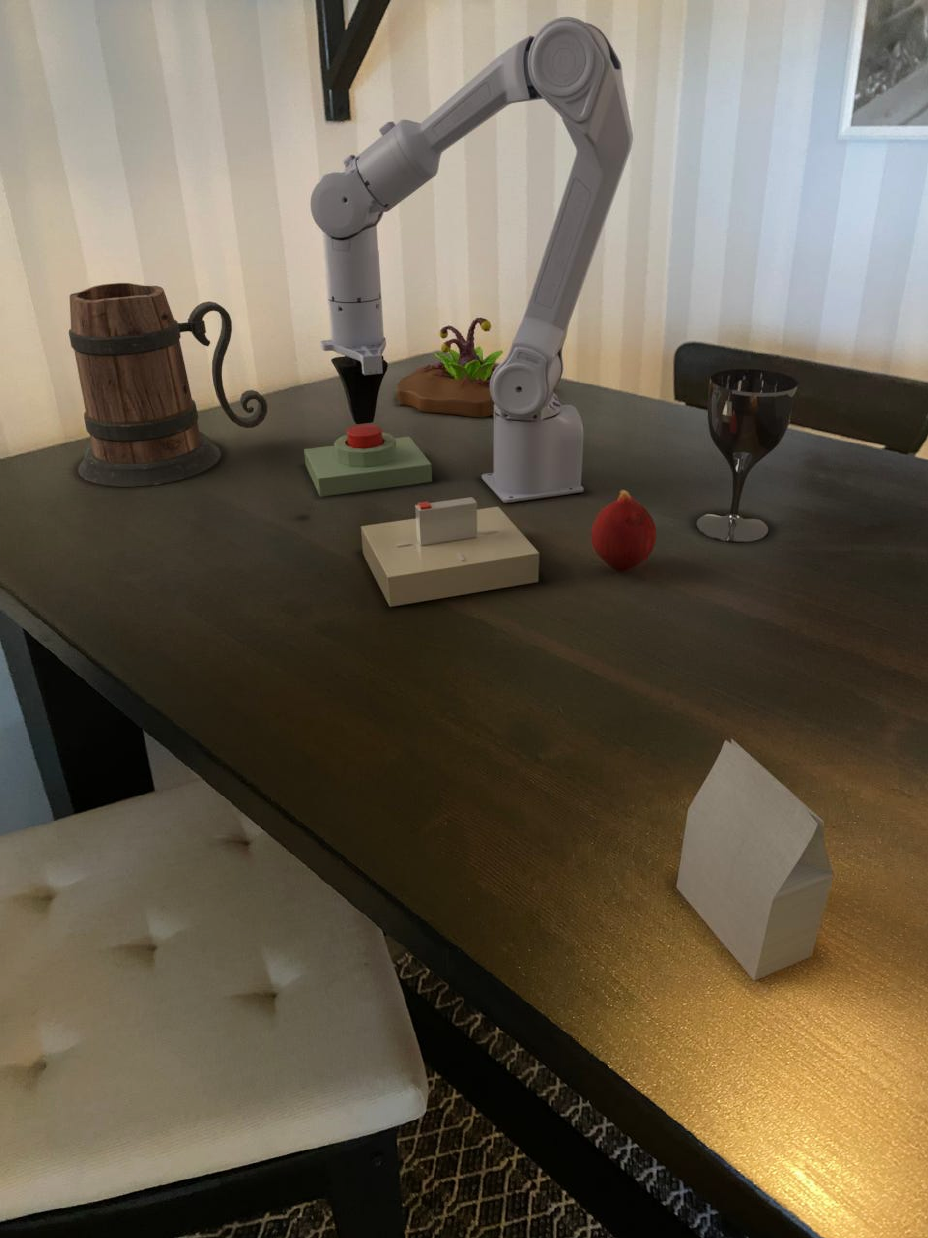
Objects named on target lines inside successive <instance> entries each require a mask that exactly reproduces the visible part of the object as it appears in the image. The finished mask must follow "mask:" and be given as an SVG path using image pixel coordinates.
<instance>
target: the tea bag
mask: <svg viewBox="0 0 928 1238" xmlns="http://www.w3.org/2000/svg"><path fill="white" fill-rule="evenodd" d="M723 742H724V743H723V744H722V747H721V750H720V753H719V754H718V757H717V758H716V760H715V762H714V764H713V766H712V767H711V769H710V772H709V773H708V774H707V776H706V778H705V780H704V782H703V783H702V785H701V786H700V788H699V789H698V791H697V793H696V795H695V797H694V798H693V800H692V802H691V803H690V805H689V807H688V808H687V814H686V822H685V827H684V834H683V842H682V846H681V847H682V848H681V854H680V861H679V866H678V873H677V874H678V875H677V880H676V889H677V890H678V892H680V894H681V895H682V897H684V899H685V900H686V901H687V902H688V903H689V905H690V906H691V907H692V908H693V909H694V911H695V912H696V913H697V914H698V915H699V917H700V918H701V919H702V920H703V922H704V923H705V924H706V925H707V926H708V928H709V929H710V930H711V931H712V933H714V935H715V936H716V937H717V938H718V939H719V940H720V942H721V943H722V944H723V945H724V947H725V948H726V949H727V950H728V952H730V954H731V955H732V957H734V958H735V960H736V961H737V963H738V964H740V966H741V967H742V968H743V969H744V971H745V972H746V973H747V975H749V977H750V978H751V980H752V981H753V982H755V981H758V980H760V979H762V978H765V977H766V976H769V975H771V974H773V973H776V972H778V971H781V970H783V969H785V968H787V967H791V966H792V965H795V964H797V963H799V962H802V961H804V960H807V959H809V958H811V957H813V953H814V949H815V946H816V941H817V938H818V935H819V931H820V927H821V924H822V921H823V918H824V917H823V916H824V913H825V909H826V906H827V902H828V898H829V895H830V890H831V887H832V884H833V880H834V876H835V874H834V871H833V868H832V867H833V866H832V864H831V860H830V857H829V854H828V849H827V847H826V840H825V834H824V831H825V829H824V828H825V821H824V820H823V819H822V818H820V817H819V816H818V815H817V814H816V813H815V812H814V811H813V810H812V809H810V808H809V807H808V806H807V805H806V804H805V803H804V802H802V800H801V799H799V798H798V797H797V796H796V795H795V794H793V792H792V791H791V790H789V789H788V788H787V787H786V786H785V785H784V784H782V782H780V781H779V780H778V779H777V778H776V777H775V776H774V775H773V774H772V773H770V772H769V771H768V770H767V769H766V768H765V767H764V766H763V765H762V764H760V763H759V762H758V761H757V760H756V759H755V758H754V757H753V756H751V754H750V753H748V752H747V751H746V750H745V749H744V748H743V747H742V746H741V745H739V744H738V743H737V742H736V741H735V740H734V739H733V738H730V742H729V740H727V739H725V740H724V741H723Z"/></svg>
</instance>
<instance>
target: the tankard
mask: <svg viewBox="0 0 928 1238" xmlns="http://www.w3.org/2000/svg"><path fill="white" fill-rule="evenodd" d="M210 312H218V314H219V315H220V320H221V327H220V328H221V329H220V334H219V338H218V340H217V343H216V345H215V348H214V351H213V354H212V355H213V356H212V361H211V376H212V384H213V388H214V391H215V395H216V398H217V400H218V402H219V405H220V406H221V408H222V410H223V411H224V413H225V414H226V415H227V417H228V418H229V419H230V420H231V422H233V423H234V424H236V425H237V426H238V427H241V428H245V429H253V428H256V427H258V426H259V425H261V424H262V422H263V421H265V418H266V416H267V414H268V403H267V400H266V398H265V397H264V396H263V395H261V393H260V392H258V391H257V390H253V389H249V390H245V391H243V392H242V393H241V395H240V399H239V400H240V401H239V402H240V405H241V408H242V409H243V410H244V411H245V412H246V413H247V414H252V413H253V412H254V410H255V408H254V407H253V406H250V407H248V403H249V402H250V401H252V400H255V401H257V408H256V410H255V412H254V413H253V414H252V415H250V416H249V417H242V416H238V415H237V414H236V413H235V412H234V410H233V409H232V408H231V406H230V403H229V401H228V399H227V396H226V392H225V389H224V382H223V381H224V380H223V366H224V365H223V364H224V360H225V357H226V354H227V351H228V348H229V345H230V343H231V338H232V333H233V323H232V322H233V321H232V318H231V316H230V313H229V312H228V311H227V310H226V309H225V307H223V306H222V305H221V304H219V303H217V302H214V301H203V302H201V303H200V304H198V305H196V306H195V307H194V309H192V311H191V312H190V315H189V317H188V318H187V322H178V320H176V319H175V317H174V315H173V311H172V309H171V306H170V304H169V300H168V298H167V296H166V292H165V289H164V288H163V287H161V286H159V285H143V284H139V283H138V284H137V283H131V282H114V283H105V284H98V285H93V286H91V287H88V288H86V289H83V290H81V291H77V292H73V293H71V294H69V314H70V316H69V317H70V329H69V330H68V337H69V342H70V347H71V348H72V350H73V351H74V355H75V362H76V367H77V373H78V378H79V382H80V383H79V384H80V389H81V393H82V398H83V404H84V409H85V412H84V413H83V418H84V424H85V429H86V432H87V434H89V439H90V444H91V445H90V446H89V447H88V448H87V449H86V451H85V452H84V457H83V460H82V461H81V462H80V464H79V466H78V468H77V470H78V475H80V477H81V478H83V479H84V480H85V481H88V482H90V483H93V484H97V485H101V486H105V487H106V486H108V487H122V488H123V487H124V488H125V487H127V488H129V487H130V488H131V487H147V486H149V487H150V486H157V485H162V484H163V485H164V484H167V483H172V482H178V481H181V480H184V479H187V478H190V477H193V476H195V475H198V474H200V473H203V472H204V471H206V470H208V469H211V468H212V467H213V466H214V465H216V464H217V463H218V461H219V460H220V458H221V455H222V453H221V450H220V448H219V447H218V446H217V445H215V444H214V443H213V442H212V441H211V440H210V438H209V437H208V436H207V435H206V434H205V433H204V432H202V431H200V428H199V424H198V423H199V421H198V420H199V413H198V409H197V408H198V407H197V404H196V401H195V400H194V399H193V398H192V393H191V387H190V382H189V378H188V374H187V369H186V364H185V360H184V355H183V350H182V345H181V340H180V339H181V333H186V332H190V333H191V334H192V335H193V337H194V339H196V341H198V342H199V343H200V344H201V345H202V346H205V347H209V346H210V345H211V341H210V340H209V338H207V335H206V334H207V329H206V323H205V320H204V317H205V316H206V314H208V313H210Z"/></svg>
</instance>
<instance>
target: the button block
mask: <svg viewBox="0 0 928 1238" xmlns="http://www.w3.org/2000/svg"><path fill="white" fill-rule="evenodd" d="M382 440H383V444H382V445H380V446H377V447H374V448H366V449H361V448H353V447H350V446H348V439H347V434H345V435H342V436H339V437H338V438H337V439H336V440H335V441H334V445H327V446H319V447H309V448H304V449H303V453H304V454H303V455H304V462H305V467H306V469H307V472H308V474H309V476H310V478H311V480H312V483H313V484H314V487H315V489H316V491H317V493H318V495H319V497H320V498H323V497H329V496H335V495H337V496H338V495H345V494H352V493H360V492H367V491H374V490H375V491H376V490H381V489H389V488H396V487H397V488H398V487H403V486H412V485H419V484H427V483H432V482H433V466H432V463H431V462H430V460H429V459H428V458H427V457H426V456H425V454H424V452H422V450H421V448H419V447H418V446H417V444H416V443H415V442H414V441H413V439H412V438H411V437H410V436H403V437H394V436H393V435H391V434H389V433H385V432H382Z"/></svg>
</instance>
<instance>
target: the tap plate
mask: <svg viewBox="0 0 928 1238" xmlns="http://www.w3.org/2000/svg"><path fill="white" fill-rule="evenodd" d="M360 534H361V544H362V555H363V556H364V559H365V561H366V563H367V565H368V567H369V568H370V570H371V573H372V575H373V577H374V578H375V581H376V582H377V585H378V587H379V588H380V591H381V592H382V593H381V594H383V597H384V598H385V599H384V600H386V602H387V604H388V606H389V608H392V607H398V606H404V605H410V604H416V603H422V602H428V601H435V600H439V599H446V598H451V597H458V596H464V595H470V594H476V593H481V592H486V591H493V590H498V589H504V588H511V587H516V586H523V585H528V584H534V583H539V575H540V573H539V570H540V552H539V551H538V550H537V548H535V546H534V544H532V543H531V542H530V540H529V539H528V538H527V537H526V536H525V535H524V534H523V533H522V531H520V529H519V528H518V527H517V526H516V525H515V524H514V522H512V520H511V519H510V518H509V517H508V516H507V514H506V513H504V511H503V510H502V509H501V508H500V507H499V506H491V507H486V508H477V537H473V538H467V539H461V540H454V541H448V542H441V543H435V544H429V545H422V546H421V545H420V544H419V542H418V541H417V534H416V518H409V519H402V520H396V521H389V522H388V521H387V522H382V523H375V524H368V525H362V526H360Z"/></svg>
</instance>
